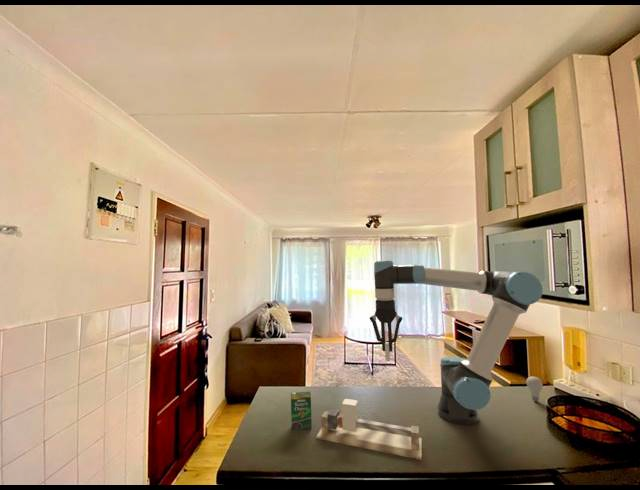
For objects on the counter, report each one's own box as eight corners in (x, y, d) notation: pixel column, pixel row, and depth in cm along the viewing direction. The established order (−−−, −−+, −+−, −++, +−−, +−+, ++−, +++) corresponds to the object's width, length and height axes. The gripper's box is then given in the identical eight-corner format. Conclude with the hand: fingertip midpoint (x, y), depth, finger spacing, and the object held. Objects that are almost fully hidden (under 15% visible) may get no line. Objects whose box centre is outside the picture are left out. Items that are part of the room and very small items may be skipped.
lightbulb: (547, 404, 130) (545, 379, 131) (533, 404, 130) (532, 379, 131) (537, 398, 136) (535, 374, 137) (524, 398, 136) (522, 374, 137)
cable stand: (421, 440, 104) (421, 418, 104) (421, 459, 93) (420, 435, 94) (326, 423, 116) (325, 403, 116) (316, 438, 105) (316, 417, 106)
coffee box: (290, 430, 110) (290, 394, 111) (290, 426, 113) (290, 391, 114) (311, 429, 111) (311, 394, 112) (311, 425, 114) (311, 391, 115)
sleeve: (358, 425, 108) (357, 400, 109) (355, 431, 104) (355, 405, 105) (345, 423, 110) (345, 398, 110) (342, 429, 106) (342, 403, 106)
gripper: (402, 298, 118) (405, 357, 116) (369, 298, 122) (372, 355, 120) (401, 300, 111) (404, 363, 109) (367, 300, 114) (369, 361, 113)
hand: (387, 359), depth 114 cm, fingers closed
